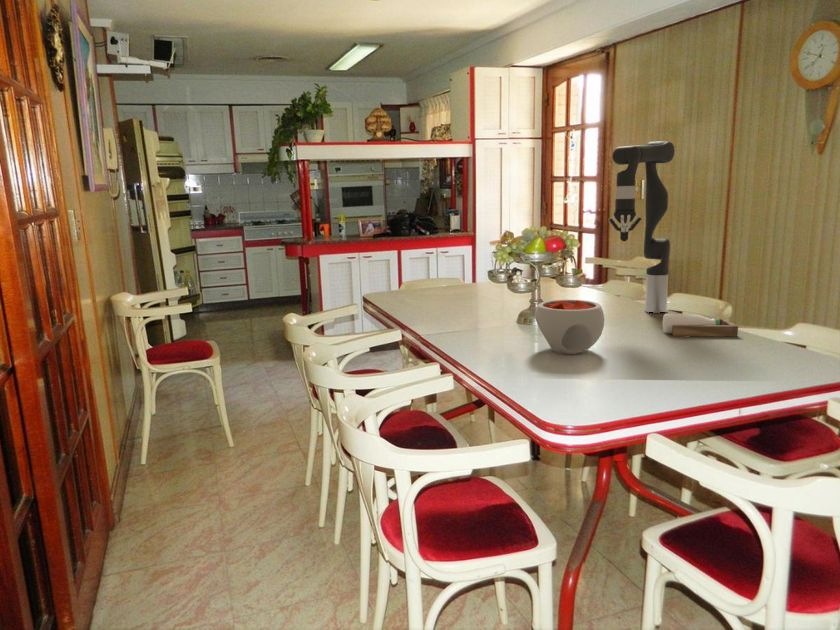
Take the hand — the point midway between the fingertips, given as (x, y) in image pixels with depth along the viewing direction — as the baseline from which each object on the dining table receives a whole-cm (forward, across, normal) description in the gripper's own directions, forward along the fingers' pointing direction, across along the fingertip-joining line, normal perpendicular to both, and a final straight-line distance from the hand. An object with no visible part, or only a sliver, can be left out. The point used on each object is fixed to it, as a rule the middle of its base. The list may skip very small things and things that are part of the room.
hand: (623, 241), depth 254 cm
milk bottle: (+31, -14, +14) cm, 37 cm away
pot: (+35, +25, +42) cm, 60 cm away
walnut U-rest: (+35, -26, +12) cm, 46 cm away
